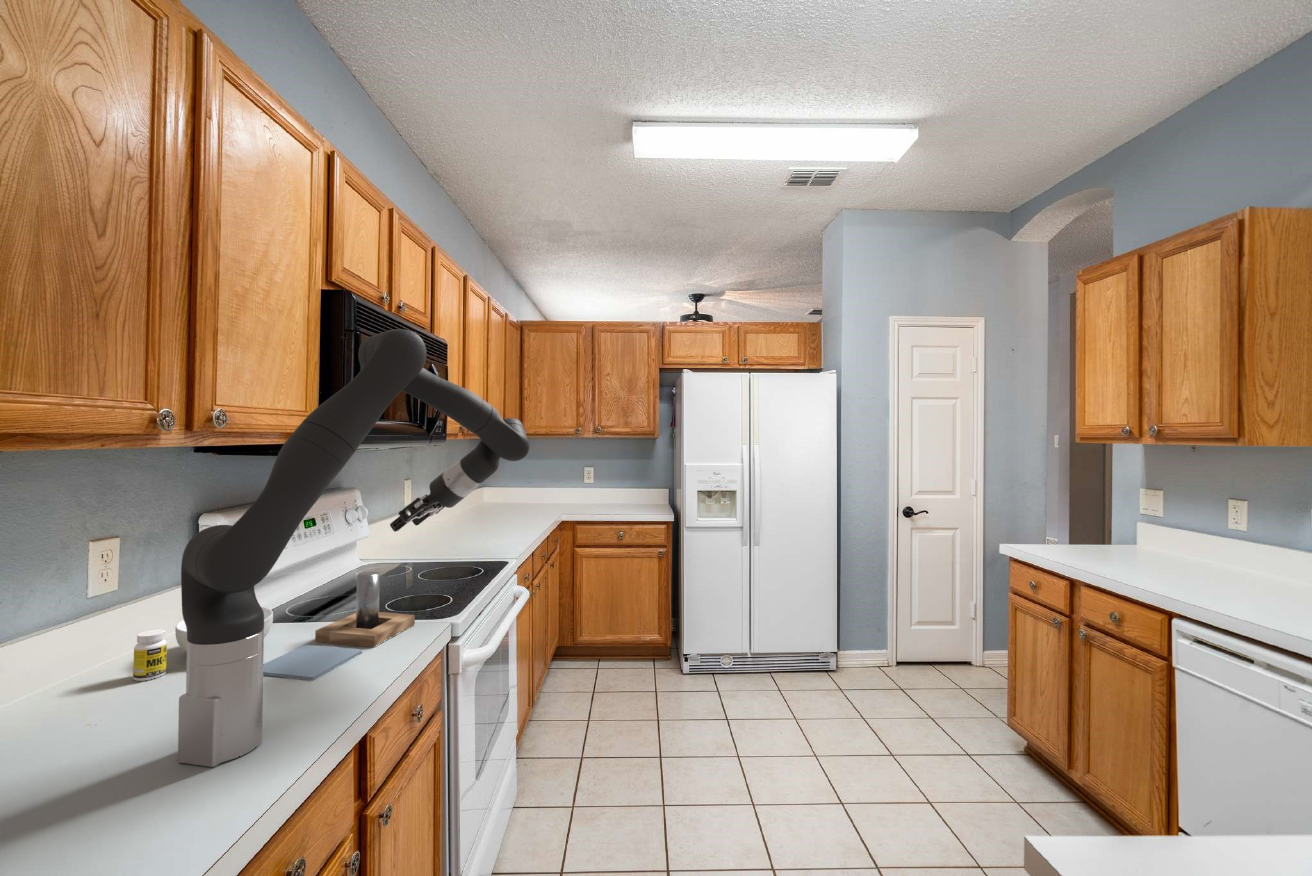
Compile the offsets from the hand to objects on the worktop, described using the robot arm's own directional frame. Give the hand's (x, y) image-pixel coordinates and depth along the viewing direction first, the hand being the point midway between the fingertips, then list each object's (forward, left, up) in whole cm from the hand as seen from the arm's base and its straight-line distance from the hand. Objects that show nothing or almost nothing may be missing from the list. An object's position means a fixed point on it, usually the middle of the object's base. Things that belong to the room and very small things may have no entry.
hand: (403, 525), depth 131 cm
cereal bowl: (-14, +32, -27) cm, 44 cm away
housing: (+2, +10, -26) cm, 28 cm away
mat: (-16, +10, -26) cm, 33 cm away
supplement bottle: (-28, +34, -27) cm, 52 cm away
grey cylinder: (+2, +10, -26) cm, 28 cm away
